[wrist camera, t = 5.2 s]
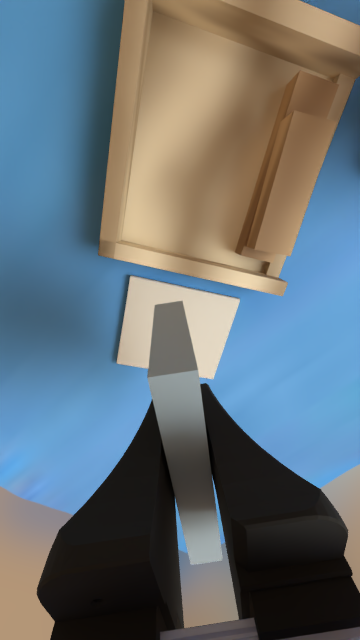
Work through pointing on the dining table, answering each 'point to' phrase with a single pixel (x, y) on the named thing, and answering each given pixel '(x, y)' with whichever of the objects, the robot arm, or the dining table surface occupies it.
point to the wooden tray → (208, 126)
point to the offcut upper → (289, 181)
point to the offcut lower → (299, 96)
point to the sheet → (183, 429)
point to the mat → (201, 313)
